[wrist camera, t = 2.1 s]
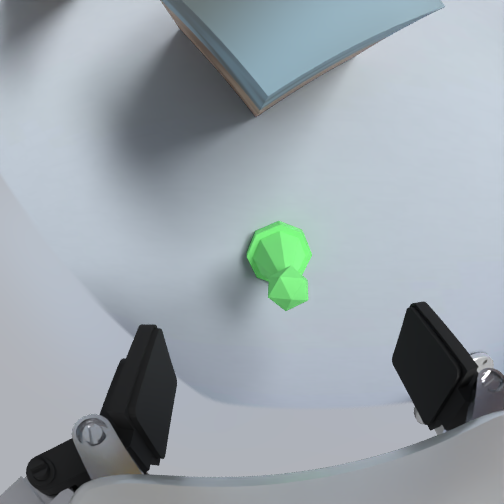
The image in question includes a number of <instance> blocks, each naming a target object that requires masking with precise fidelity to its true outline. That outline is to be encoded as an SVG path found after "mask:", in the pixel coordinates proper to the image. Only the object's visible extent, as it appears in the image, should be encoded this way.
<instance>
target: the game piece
mask: <svg viewBox="0 0 504 504" xmlns="http://www.w3.org/2000/svg"><path fill="white" fill-rule="evenodd" d="M311 256H312V254H311V251H310V248H309V246H308V243H307V241H306V238H305V236H304V233H303V231H302V230H301V229H299V228H296V227H293V226H291V225H288V224H285V223H283V222H280V221H278V222H275V223H273V224H271V225H268V226H266V227H263V228H261V229H259V230H256V231H255V234H254V236H253V238H252V241H251V243H250V246H249V248H248V251H247V259H248V261H249V263H250V265H251V267H252V269H253V271H254V273H255V275H256V277H257V278H260V279H263V280H266V281H269V285H268V298H270V299H271V300H272V301H274V302H275V303H276V304H277V305H279V306H280V307H281V308H283V309H284V310H285V311H287V310H289V309H291V308H293V307H295V306H298V305H300V304H302V303H304V302H306V301H308V282H307V279H306V278H305V277H304V276H302V274H303V272H304V270H305V268H306V266H307V264H308V262H309V260H310V258H311Z"/></svg>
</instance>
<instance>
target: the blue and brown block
mask: <svg viewBox="0 0 504 504" xmlns="http://www.w3.org/2000/svg"><path fill="white" fill-rule="evenodd" d="M160 1H161V2H162V4H163V5H164V6H165V8H166V9H167V11H168V12H169V14H170V15H171V17H172V18H173V19H174V21H175V22H176V24H177V25H178V27H179V28H180V29H181V31H182V32H183V33H184V34H185V35H186V36H187V37H188V38H189V39H190V40H191V41H192V42H193V43H194V44H195V46H196V47H197V48H198V49H199V50H200V51H201V52H202V53H203V54H204V56H205V57H206V58H207V59H208V60H209V61H210V62H211V63H212V65H213V66H214V67H215V68H216V69H217V70H218V72H219V73H220V74H221V75H222V76H223V77H224V79H225V80H226V81H227V82H228V83H229V85H230V86H231V87H232V88H233V89H234V91H235V92H236V93H237V94H238V95H239V97H240V98H241V99H242V100H243V102H244V103H245V104H246V105H247V107H248V108H249V109H250V110H251V112H252V113H253V114H254V116H255V117H257V116H259V115H260V114H261V113H263V112H264V111H266V110H267V109H269V108H270V107H272V106H273V105H275V104H276V103H278V102H279V101H281V100H282V99H284V98H285V97H287V96H288V95H290V94H292V93H293V92H295V91H296V90H298V89H299V88H301V87H303V86H304V85H306V84H308V83H309V82H311V81H313V80H314V79H316V78H318V77H319V76H321V75H323V74H324V73H326V72H328V71H329V70H331V69H333V68H335V67H336V66H338V65H340V64H342V63H344V62H345V61H347V60H349V59H351V58H353V57H355V56H356V55H358V54H360V53H361V52H363V51H364V50H366V49H368V48H369V47H371V46H373V45H374V44H376V43H378V42H379V41H381V40H383V39H385V38H386V37H388V36H390V35H392V34H393V33H395V32H397V31H399V30H401V29H402V28H404V27H406V26H408V25H410V24H412V23H414V22H416V21H417V20H419V19H421V18H423V17H425V16H427V15H429V14H431V13H433V12H435V11H438V10H440V9H442V8H444V7H445V6H444V4H443V3H442V2H441V0H160Z"/></svg>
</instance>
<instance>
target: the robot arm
mask: <svg viewBox="0 0 504 504" xmlns="http://www.w3.org/2000/svg"><path fill="white" fill-rule="evenodd" d="M392 363H393V366H394V367H395V369H396V371H397V373H398V375H399V377H400V379H401V380H402V382H403V384H404V386H405V388H406V390H407V392H408V394H409V396H410V397H411V399H412V401H413V403H414V405H415V408H414V415H415V417H416V419H417V421H418V422H419V423H421V424H425V425H428V427H429V429H430V430H433V429H435V431H436V433H437V436H435V437H432V438H429V439H427V440H424V441H421V442H419V443H416V444H413V445H410V446H407V447H404V448H401V449H398V450H395V451H392V452H389V453H385V454H382V455H378V456H375V457H371V458H367V459H363V460H359V461H355V462H351V463H346V464H342V465H337V466H332V467H326V468H321V469H315V470H308V471H302V472H294V473H285V474H276V475H264V476H248V477H185V476H167V475H149V474H148V472H147V471H148V470H149V469H150V465H159V463H160V458H161V459H164V457H165V454H166V447H167V440H168V434H169V427H170V422H171V416H172V409H173V404H174V398H175V393H176V387H177V379H176V375H175V372H174V369H173V366H172V363H171V359H170V356H169V353H168V349H167V346H166V342H165V339H164V335H163V332H162V329H160V328H157V326H156V325H140V326H139V328H138V330H137V333H136V335H135V337H134V340H133V342H132V345H131V347H130V350H129V352H128V355H127V358H126V359H122V360H121V361H120V363H119V365H118V367H117V370H116V373H115V375H114V378H113V380H112V383H111V385H110V388H109V390H108V393H107V396H106V398H105V401H104V404H103V407H102V410H101V412H100V415H97V414H91V415H87V416H84V417H82V418H81V419H79V420H78V421H77V422H76V423H75V425H74V427H73V429H72V439H70V440H68V441H66V442H64V443H62V444H60V445H58V446H56V447H54V448H52V449H50V450H48V451H46V452H44V453H42V454H40V455H38V456H36V457H34V458H33V459H31V461H30V462H29V463H28V466H27V469H26V475H27V476H26V477H25V478H23V477H20V478H19V479H18V480H17V481H16V482H15V483H14V484H13V485H11V486H10V487H9V488H8V489H7V490H6V491H5V492H4V493H3V494H2V495H1V496H0V504H504V375H503V374H502V373H501V372H500V371H498V370H496V369H494V368H493V366H494V364H493V360H492V359H491V357H490V356H489V355H488V354H487V353H483V352H481V353H475V354H472V355H470V354H469V353H468V352H467V351H466V349H465V348H464V347H463V346H462V344H461V343H460V342H459V341H458V339H457V338H456V337H455V336H454V334H453V333H452V332H451V331H450V330H449V328H448V327H447V326H446V325H445V324H444V323H443V321H442V320H441V319H440V318H439V317H438V315H437V314H436V313H435V312H434V311H433V310H432V309H431V307H430V306H429V305H428V304H427V303H426V302H418V303H413V304H411V305H410V307H409V308H408V309H407V311H406V314H405V318H404V321H403V325H402V328H401V331H400V335H399V338H398V341H397V344H396V347H395V350H394V353H393V357H392Z"/></svg>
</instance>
